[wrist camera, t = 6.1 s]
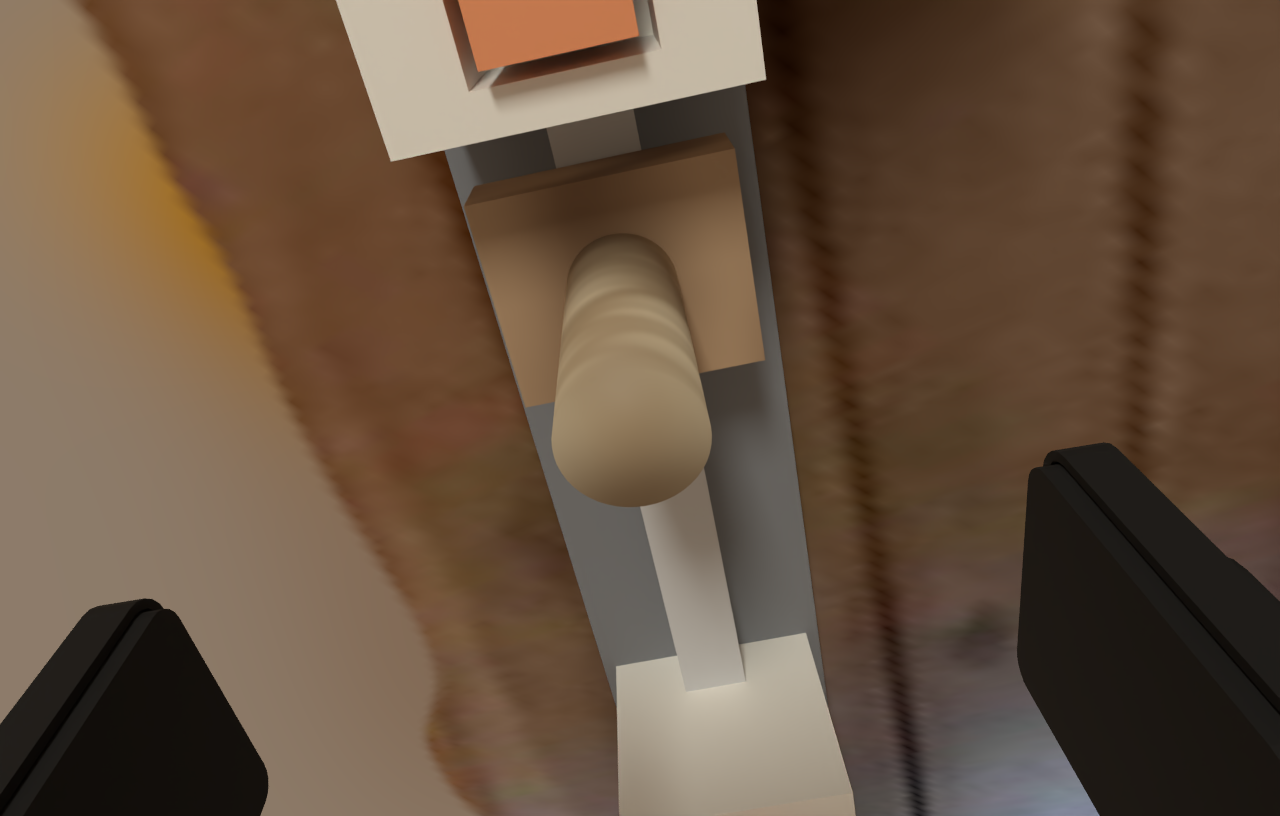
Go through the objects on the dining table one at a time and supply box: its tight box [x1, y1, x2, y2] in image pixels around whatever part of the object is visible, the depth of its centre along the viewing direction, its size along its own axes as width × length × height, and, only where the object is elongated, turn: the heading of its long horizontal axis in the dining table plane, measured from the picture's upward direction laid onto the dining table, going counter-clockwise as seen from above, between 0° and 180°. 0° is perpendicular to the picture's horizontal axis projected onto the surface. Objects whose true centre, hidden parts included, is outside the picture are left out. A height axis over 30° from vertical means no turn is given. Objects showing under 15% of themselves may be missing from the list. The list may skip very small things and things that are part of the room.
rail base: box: [336, 0, 856, 816], centre depth 27 cm, size 9×36×9 cm, turn 12°
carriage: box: [464, 132, 765, 507], centre depth 20 cm, size 7×6×10 cm
